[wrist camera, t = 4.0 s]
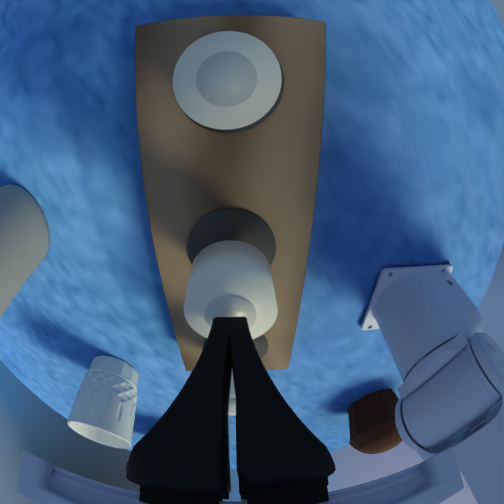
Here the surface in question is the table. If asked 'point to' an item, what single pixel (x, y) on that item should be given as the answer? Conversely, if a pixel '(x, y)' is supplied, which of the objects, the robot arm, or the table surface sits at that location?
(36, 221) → the mug
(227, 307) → the knob middle
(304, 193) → the knob strip
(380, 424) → the muffin
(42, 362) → the table surface
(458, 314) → the robot arm
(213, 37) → the knob near
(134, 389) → the white cup
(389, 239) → the table surface
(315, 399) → the table surface
